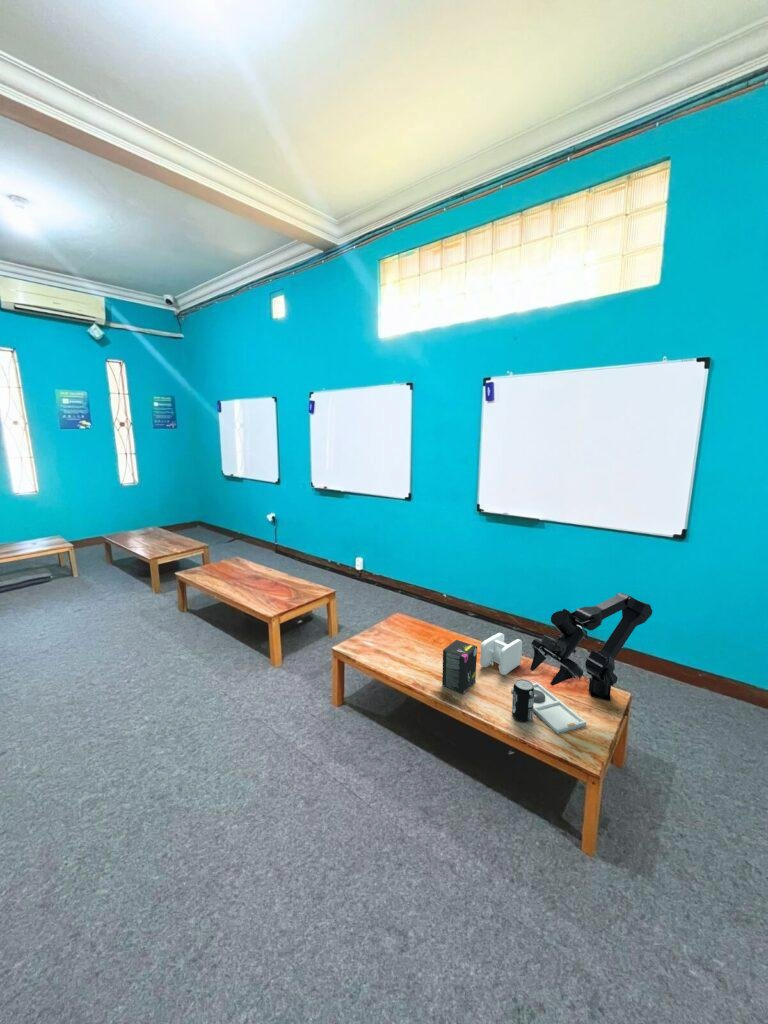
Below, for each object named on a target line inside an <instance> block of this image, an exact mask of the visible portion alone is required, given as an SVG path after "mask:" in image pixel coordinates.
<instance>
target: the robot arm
mask: <svg viewBox="0 0 768 1024" xmlns="http://www.w3.org/2000/svg"><path fill="white" fill-rule="evenodd" d="M618 612H621V619H620V620H619V622H618V623H617V624H616V626H615V628H614V629H613V631H612V632H611V634H610V636H609V637H608V638H607V640H606V641H605V643H604V644H603V646H602V647H601V649H599V650H597V651H596V650H594V649H593V650H592V651H591V652H590V654H589V655H588V656H587V657H586V659H585V662H584V663H585V664H584V666H585V671H586V673H587V674H588V675H590V677H589V679H588V692H589V696H590V697H593V698H597V699H601V700H606V701H612V700H611V699H612V698H611V688H612V686H614V685H615V684H617V682H618V678H619V677H618V676H617V675H616V673H614V671H615V669H616V667H615V658H616V657H617V656H618V654H619V653H620V651H621V650H622V649H623V647H624V645H625V644H626V643H627V641H628V639H629V638H630V636H631V634H632V633H633V632H634V630H635V629H636V628H637V627H638V626H640V625H643V624H645V623H646V622H647V621H648V619H649V618H651V617H652V615H653V609H652V606H651V604H649V603H646V602H644V601H641V600H639V599H637V598H635V597H633V596H632V595H629V594H626V593H623V592H617V594H616V595H614V596H613V597H610V598H608V599H606V600H604V601H602V602H600V603H599V604H596V605H593V606H582V607H579V608H577V609H575V610H573V611H572V612H571V611H570V610H568V609H566V608H562V610H557V611H555V612H553V613H552V614H551V617H550V622H551V624H552V625H553V626H554V627H555V628H556V629H557V631H559V632H560V634H561V635H560V636H558V635H557V636H555V637H554V638H553V637H552V636H548V635H543V637H542V638H541V640H539V639H538V638H534V639H533V640H532V641H531V643H530V644H531V646H532V647H531V648H532V649H533V652H534V653H533V658H532V661H531V665H530V668H529V670H530V671H531V672H534V671H535V670H536V669H537V668H538V667H539V666H541V664H542V663H543V662H544V661H546V660H547V657H546V656H549V657H550V658H552V659H553V660H555V661H557V662H558V663H559V664H560V665H559V671H558V672H557V673H556V674H555V676H554V677H553V678H552V679H551V682H550V683H549V685H550V686H551V687H553V686H555V685H558V684H560V683H562V682H564V681H568V680H570V679H577V678H578V679H579V680H580V679H581V678H582V677H583V676H584V670H583V669H582V668H581V667H580V666H579V664H578V663H577V662H575V661H574V660H571V659H570V658H569V657H570V656H571V654H572V653H573V654H576V652H577V650H576V648H577V646H579V644H580V643H581V641H582V640H583V639H585V640H586V641H587V640H589V635H588V631H594V630H595V629H597V628H598V627H600V626H601V625H602V623H603V620H605V619H606V618H608V617H610V616H612V615H615V614H616V613H618Z"/></svg>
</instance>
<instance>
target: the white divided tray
mask: <svg viewBox="0 0 768 1024" xmlns="http://www.w3.org/2000/svg"><path fill="white" fill-rule="evenodd" d="M532 684H533V688H534V704H533V714H535V715H536V716H537V717H538V718H539V719H540V720H541V721H542V722H543V723H545V725H547V727H548V728H550V729H551V730H552V731H553V732H554V733H555V734H556V735H560V734H563V733H566V732H569V731H573V730H576V729H579V728H583V727H587V721H586V720H585V719H583V718H582V717H581V716H580V715H579V714H577V713H576V712H575V711H574V710H572V709H571V708H570V707H568V705H566V704H565V703H563V701H561V700H560V699H558V697H556V696H555V695H554V694H553V693H552V692H550V691H548V689H546V688H545V687H544V686H543V685H541V684H540V683H539V682H535V683H533V682H532ZM511 694H513V688H511Z"/></svg>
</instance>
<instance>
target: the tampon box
mask: <svg viewBox="0 0 768 1024" xmlns="http://www.w3.org/2000/svg"><path fill="white" fill-rule="evenodd" d="M477 657H478V646H476V645H474V644H471V643H468V642H466V641H465V642H464V641H461V640H459V639H455V640H454V641H453V642H451V643H450V644H449V645H447V646H446V647H445V648H444V649H443V650H442V676H441V677H442V683H441V685H442V687H446V688H447V689H450V690H453V691H455V692H457V693H460V694H462V695H464V694H465V693H466V692H468V690H469V689H470V688H471V687H472V686H473V685H474V684H475V683H476V681H477V679H476V675H477Z"/></svg>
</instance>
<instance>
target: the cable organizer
mask: <svg viewBox="0 0 768 1024" xmlns="http://www.w3.org/2000/svg"><path fill="white" fill-rule="evenodd" d="M522 648H523V640H522V639H519V638H517V639H515V640H513V641H512V642H510V643H509V644H507V642H505V633H503V632H502V633H501V632H497V633H496V634H494V635H492V636H490V637H488V638H487V639H485V640H483V642H482V643H480V661H479V663H480V666H481V667H483V668H488V667H489V666H491V667H493V666H494V665H495V663H496V664H497V665H498V668H497V669H499V674H500V675H502V676H506V675H507V674H509V673H510V672H511V671H513V670H514V669H516V668H517V667H518V666H519V665H520V664H521V662H522V652H523V651H522V650H523V649H522Z"/></svg>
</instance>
